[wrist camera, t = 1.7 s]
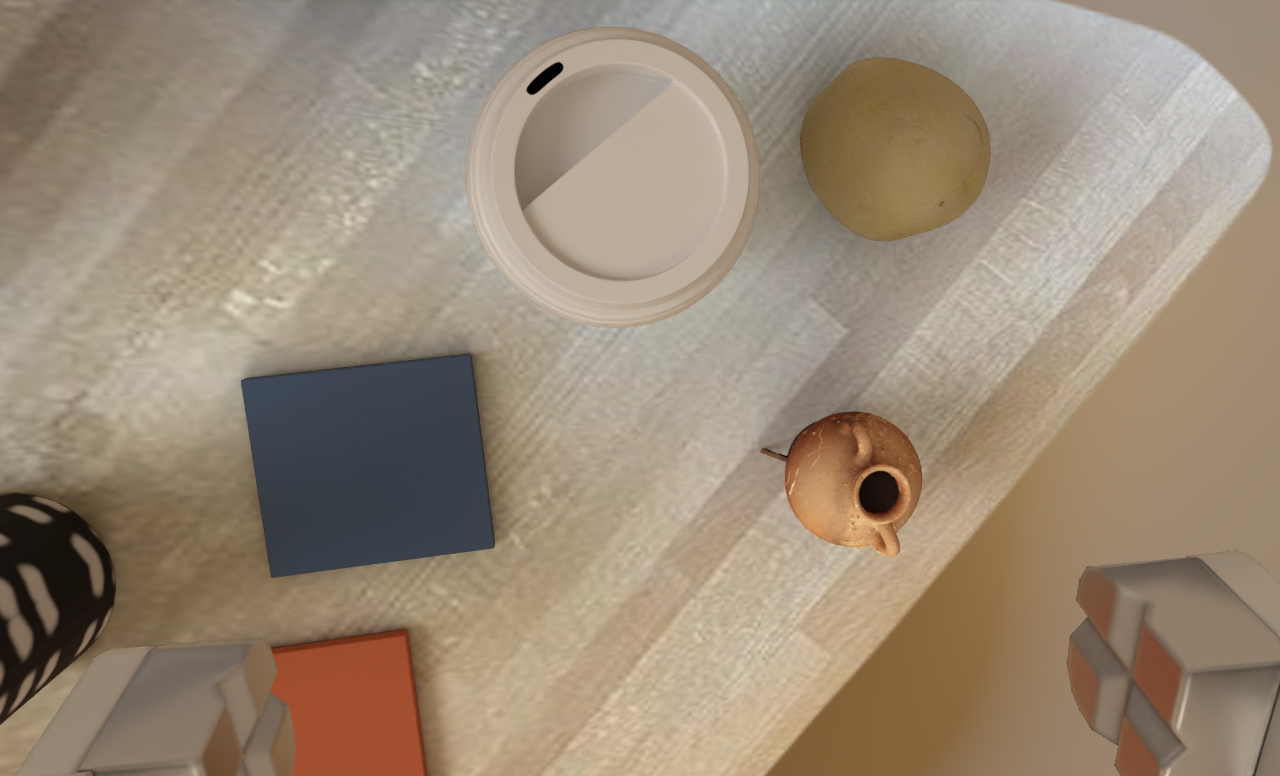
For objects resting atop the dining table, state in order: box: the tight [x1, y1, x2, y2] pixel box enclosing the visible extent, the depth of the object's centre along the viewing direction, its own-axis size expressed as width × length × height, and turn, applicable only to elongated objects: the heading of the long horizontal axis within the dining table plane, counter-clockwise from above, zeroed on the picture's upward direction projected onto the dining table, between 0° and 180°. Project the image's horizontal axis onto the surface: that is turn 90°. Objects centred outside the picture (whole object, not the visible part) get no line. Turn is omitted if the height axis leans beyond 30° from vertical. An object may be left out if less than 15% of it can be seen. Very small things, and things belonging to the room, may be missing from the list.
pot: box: [761, 411, 922, 557], centre depth 43 cm, size 6×8×6 cm
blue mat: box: [241, 354, 495, 578], centre depth 44 cm, size 9×10×1 cm
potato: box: [800, 58, 990, 241], centre depth 41 cm, size 8×8×8 cm
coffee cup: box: [466, 27, 760, 328], centre depth 37 cm, size 10×10×15 cm
